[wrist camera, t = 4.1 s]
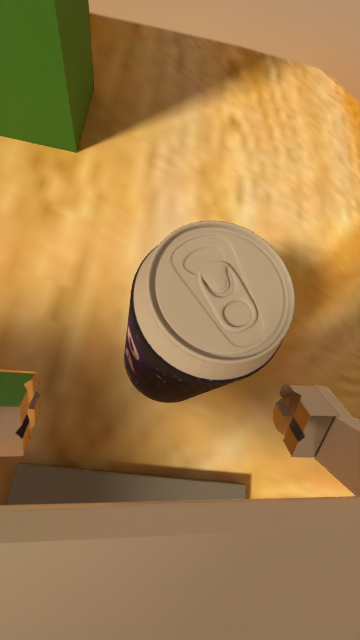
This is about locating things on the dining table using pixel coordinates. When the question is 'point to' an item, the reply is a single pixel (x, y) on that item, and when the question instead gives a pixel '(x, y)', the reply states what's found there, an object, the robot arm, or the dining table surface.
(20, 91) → the hardback book
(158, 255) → the beverage can
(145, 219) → the dining table surface
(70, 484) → the mat
